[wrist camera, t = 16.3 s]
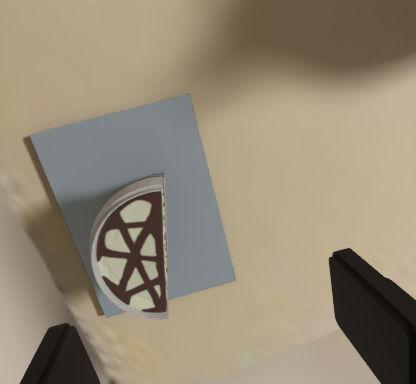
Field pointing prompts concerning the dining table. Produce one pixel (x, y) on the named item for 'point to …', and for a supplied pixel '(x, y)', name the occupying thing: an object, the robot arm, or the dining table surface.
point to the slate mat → (134, 171)
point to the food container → (133, 248)
